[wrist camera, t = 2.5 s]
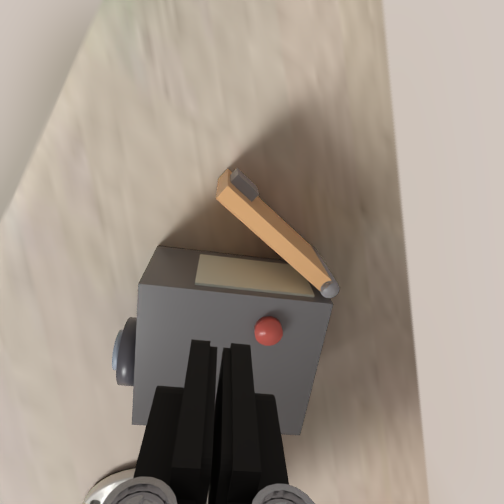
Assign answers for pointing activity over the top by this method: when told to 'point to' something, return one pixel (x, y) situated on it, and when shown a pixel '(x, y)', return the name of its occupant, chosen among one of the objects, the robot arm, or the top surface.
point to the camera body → (224, 326)
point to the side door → (274, 230)
